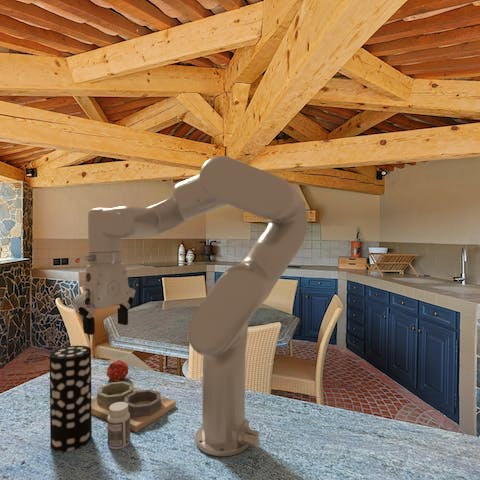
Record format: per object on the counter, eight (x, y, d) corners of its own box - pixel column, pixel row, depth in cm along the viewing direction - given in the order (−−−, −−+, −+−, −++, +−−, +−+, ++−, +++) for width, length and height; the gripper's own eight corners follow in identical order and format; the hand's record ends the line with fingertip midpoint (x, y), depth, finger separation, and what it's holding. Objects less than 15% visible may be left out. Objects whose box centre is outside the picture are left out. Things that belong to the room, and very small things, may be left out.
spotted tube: (52, 434, 82) (51, 348, 82) (91, 426, 86) (90, 343, 85) (48, 455, 75) (47, 360, 74) (91, 446, 78) (91, 355, 77)
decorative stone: (119, 381, 116) (136, 376, 113) (102, 386, 111) (119, 380, 107) (115, 361, 118) (132, 355, 115) (98, 365, 112) (116, 359, 109)
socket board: (175, 406, 96) (175, 391, 96) (136, 432, 84) (136, 415, 84) (123, 389, 106) (123, 375, 106) (81, 409, 94) (80, 394, 94)
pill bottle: (122, 434, 83) (122, 398, 82) (134, 442, 80) (134, 405, 79) (103, 444, 79) (103, 406, 79) (115, 452, 76) (115, 413, 76)
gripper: (82, 262, 78) (84, 340, 79) (143, 257, 93) (144, 323, 93) (62, 261, 82) (64, 335, 83) (123, 256, 97) (124, 319, 97)
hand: (106, 328), depth 88 cm, fingers open, 9 cm apart
